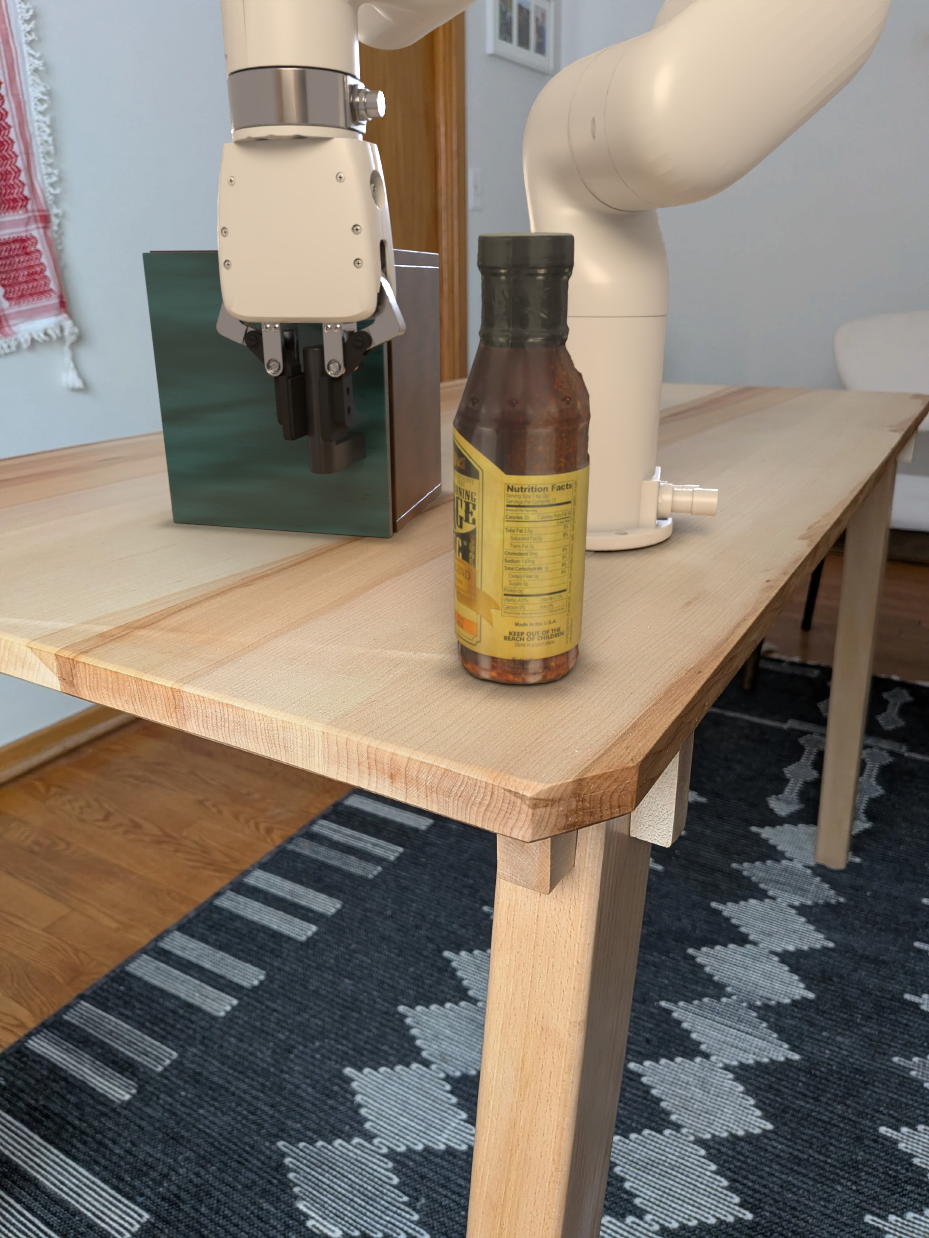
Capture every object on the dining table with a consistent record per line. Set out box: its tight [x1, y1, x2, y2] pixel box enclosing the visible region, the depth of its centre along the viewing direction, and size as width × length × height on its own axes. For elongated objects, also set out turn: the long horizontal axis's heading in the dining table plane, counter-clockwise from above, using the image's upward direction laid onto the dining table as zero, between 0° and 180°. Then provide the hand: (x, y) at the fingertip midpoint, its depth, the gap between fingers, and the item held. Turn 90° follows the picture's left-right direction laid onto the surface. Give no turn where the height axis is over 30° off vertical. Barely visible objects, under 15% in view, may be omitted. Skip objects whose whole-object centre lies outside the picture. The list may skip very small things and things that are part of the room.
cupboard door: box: [141, 252, 394, 539], centre depth 63 cm, size 7×18×20 cm, turn 75°
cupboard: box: [149, 248, 442, 533], centre depth 74 cm, size 14×18×20 cm
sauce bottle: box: [452, 232, 591, 685], centre depth 42 cm, size 7×6×20 cm
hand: (316, 435), depth 59 cm, fingers closed, pressing on cupboard door
